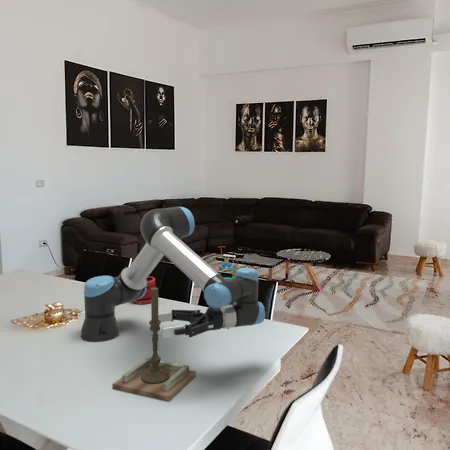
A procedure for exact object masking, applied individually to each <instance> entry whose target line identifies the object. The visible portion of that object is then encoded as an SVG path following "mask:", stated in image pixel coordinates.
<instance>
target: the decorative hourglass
mask: <svg viewBox="0 0 450 450" xmlns="http://www.w3.org/2000/svg"><path fill="white" fill-rule="evenodd" d="M226 257H227V258H228V259H226ZM229 260H230V256H228V255H225V256H224V262H223V261H222V262H221V265H220V269H221V270H225V269H226V267H228V268H227V269H228V270H229V271H231V274H232V275H231V277H223V278H224V279H225V280H229V279H232V278H235V277H236V276H235V275H236V274H234V273H233V268H234V266H232V263H231V262H229ZM221 272H222V271H220V272H218V274H220V275H221V276H222V274H221ZM234 304H236V302H234V303H231V304H228V305H234Z"/></svg>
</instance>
